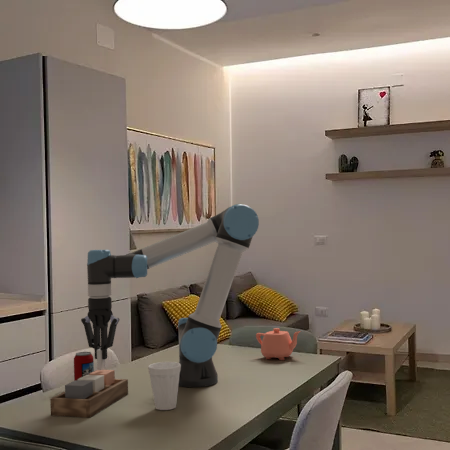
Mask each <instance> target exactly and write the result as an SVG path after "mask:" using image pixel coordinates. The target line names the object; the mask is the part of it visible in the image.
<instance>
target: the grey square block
mask: <svg viewBox="0 0 450 450" xmlns="http://www.w3.org/2000/svg"><path fill="white" fill-rule="evenodd" d="M64 392H65V398H71V399H85V398H87V397H89V396H91V395H92V394H93V381H78V380H75V381H74V380H73V381H71V382H69V383H66V384H65V385H64Z"/></svg>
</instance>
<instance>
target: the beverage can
mask: <svg viewBox="0 0 450 450" xmlns="http://www.w3.org/2000/svg"><path fill="white" fill-rule="evenodd" d="M94 364H95V363H94V356H93V354H92V352H91V351H79V352H77V353H75V354H74V358H73V378H74V380H73V381H75V380H78V379H79V378H81V377H83V376H85V375H89V374H90V373H92V372H94V371H95V365H94Z"/></svg>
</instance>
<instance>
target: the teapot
mask: <svg viewBox="0 0 450 450" xmlns="http://www.w3.org/2000/svg"><path fill="white" fill-rule="evenodd" d="M300 332H302V331H301V330H300V331H295V332H294V333H293V336H292V337H291V336H290V333H289V331H285V330H281V329H280V328H279V327H275V328H274V327H273V329H272V330H271V331H270V330H269V331H266V332H265V333H263V332H257V333H256V334H255V338H256V340H257V342H258V343H259V344H260V346H261V347H260V353H261V355H262V356H263V358H264V357H265V360H271V359H272V358H275V359H276V358H278V360H279V361H284V360H285V359H286V358H289V357H290V356H291V355H292V353H293V351H294V349H295V348H296V346H297V344H298V335H299V333H300ZM261 336H262V338H261Z"/></svg>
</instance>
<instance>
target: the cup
mask: <svg viewBox="0 0 450 450" xmlns="http://www.w3.org/2000/svg"><path fill="white" fill-rule="evenodd" d="M147 369H148V374H149V379H150V385H151V390H152V397H153V401H154V406H155V407H154V408H155V410H159V411H169V410H173V409H176V408H177V400H178V393H179V392H178V391H179V386H178V384H179V375H180V370H181V364H180V363H179V362H176V361H160V362H154V363H151V364H148V366H147Z"/></svg>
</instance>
